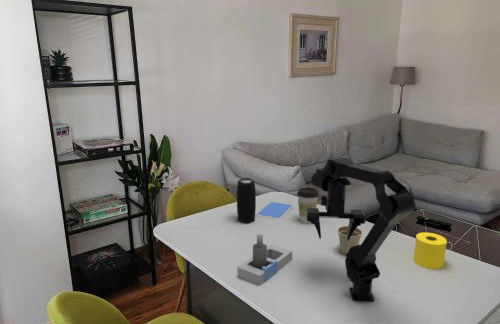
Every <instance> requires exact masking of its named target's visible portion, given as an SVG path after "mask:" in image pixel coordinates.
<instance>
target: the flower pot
mask: <svg viewBox="0 0 500 324" xmlns="http://www.w3.org/2000/svg"><path fill="white" fill-rule="evenodd" d="M348 227H349V225H344V226H343V225H342V226H339V227H338V228H337V229H336V230H337V233H338V237H339V238H338V239H339V249H340V250H339V251H340V252H341V253H342V254H344V255H345V254H347V253H348V252H349V249H350V248H351V247H353V246H357V245H360V239H361V237H362V235H363V234H364V232H363V230H362V229H360V228H358V227H357V228H356V229H355V230H354V232H353V233H352V235H351V237H350V239H349V240H347V233H348Z"/></svg>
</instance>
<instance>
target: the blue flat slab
mask: <svg viewBox="0 0 500 324" xmlns="http://www.w3.org/2000/svg"><path fill="white" fill-rule="evenodd" d="M292 208H294V206H293V204H289V203H288V204H287V203H281V202H277V201H276V202H275V201H271V202H269V203H268V204H267V205H266V206H264V207H263V208H262V209H261V210H260V211H258V212H256V213H255V217H261V218H267V219H272V220H277V221H280V220H282V218H283V217H284V216H286V214H287V213H289V211H290V210H291V209H292Z"/></svg>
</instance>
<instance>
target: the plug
mask: <svg viewBox="0 0 500 324" xmlns="http://www.w3.org/2000/svg"><path fill="white" fill-rule="evenodd" d="M267 247H268V246H267V244H265V243H264V235H263V234H261V233H260V234H257V235H256V243H254V244H253V245H252V257H253V267H255V268H257V269H260V270H262V267H263V266H265V267H267Z"/></svg>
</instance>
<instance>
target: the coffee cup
mask: <svg viewBox="0 0 500 324" xmlns="http://www.w3.org/2000/svg"><path fill="white" fill-rule="evenodd" d="M319 193H320V192H318V189H317V188H315V187H301V188H298V191H297V194H296V195H297V199H298V200H297V203H298V204H297V205H298V214H299V221H300V223H302V224H305V225H308V224H309V225H310V224H311V222H309V221H307V209H308V208H317V205H318V197H319V196H320V194H319ZM311 225H312V224H311Z"/></svg>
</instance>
